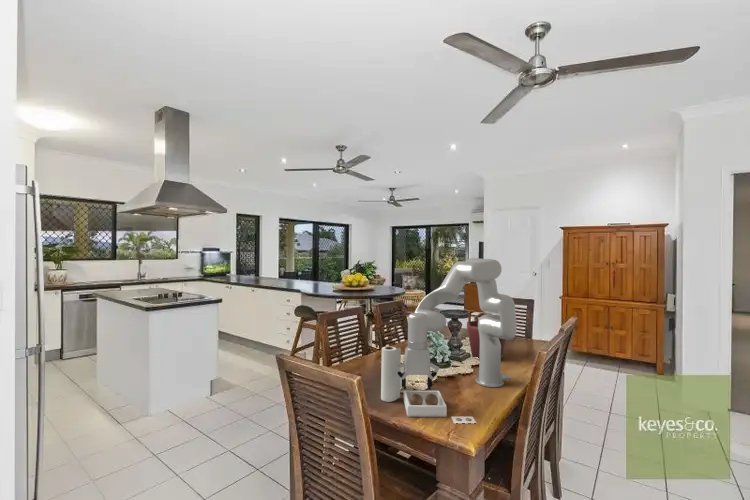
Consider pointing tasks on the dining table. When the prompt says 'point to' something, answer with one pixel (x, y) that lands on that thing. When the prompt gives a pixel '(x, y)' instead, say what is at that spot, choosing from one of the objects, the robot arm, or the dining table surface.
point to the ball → (431, 399)
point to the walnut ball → (416, 399)
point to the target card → (463, 420)
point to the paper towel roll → (390, 374)
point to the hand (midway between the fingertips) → (416, 388)
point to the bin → (425, 405)
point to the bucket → (475, 338)
